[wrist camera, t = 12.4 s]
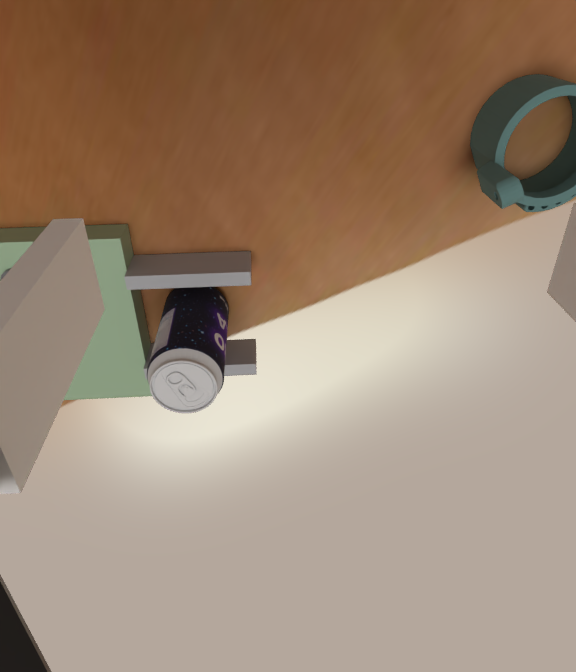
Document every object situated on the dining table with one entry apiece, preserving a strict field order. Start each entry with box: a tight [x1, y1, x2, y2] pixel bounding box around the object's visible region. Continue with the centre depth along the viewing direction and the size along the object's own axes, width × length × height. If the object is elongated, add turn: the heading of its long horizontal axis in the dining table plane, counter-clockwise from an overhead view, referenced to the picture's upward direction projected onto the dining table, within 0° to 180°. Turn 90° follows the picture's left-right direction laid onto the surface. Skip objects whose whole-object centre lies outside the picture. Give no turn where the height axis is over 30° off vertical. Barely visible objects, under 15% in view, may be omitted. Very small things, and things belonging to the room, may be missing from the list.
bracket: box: [470, 74, 576, 212], centre depth 37 cm, size 9×9×9 cm
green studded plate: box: [0, 224, 256, 400], centre depth 46 cm, size 16×22×4 cm
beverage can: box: [147, 287, 229, 413], centre depth 43 cm, size 6×6×12 cm
